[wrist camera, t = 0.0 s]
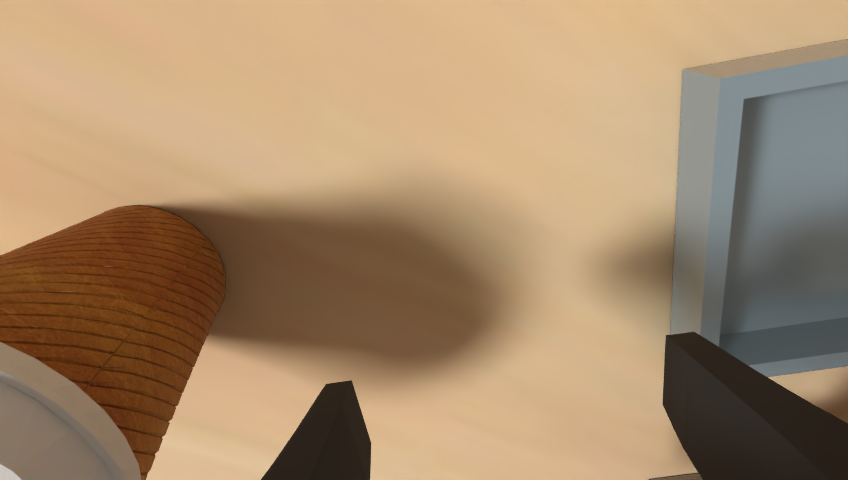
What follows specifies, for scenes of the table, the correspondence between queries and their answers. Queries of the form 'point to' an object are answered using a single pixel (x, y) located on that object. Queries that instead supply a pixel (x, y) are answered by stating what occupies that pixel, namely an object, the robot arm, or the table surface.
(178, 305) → the disposable coffee cup
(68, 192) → the table surface
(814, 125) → the tray
